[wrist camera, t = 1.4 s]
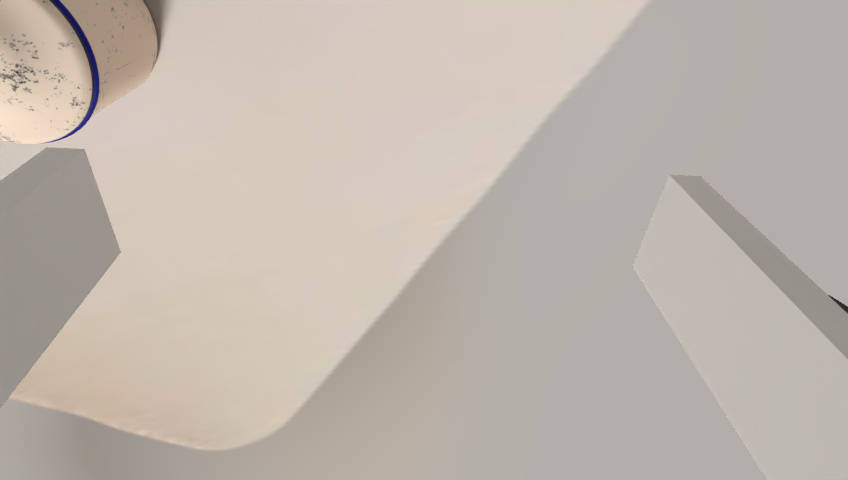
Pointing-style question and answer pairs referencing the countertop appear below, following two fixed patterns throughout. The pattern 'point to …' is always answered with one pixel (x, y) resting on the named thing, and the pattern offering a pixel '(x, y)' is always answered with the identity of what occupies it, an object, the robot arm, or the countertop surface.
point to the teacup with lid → (68, 63)
